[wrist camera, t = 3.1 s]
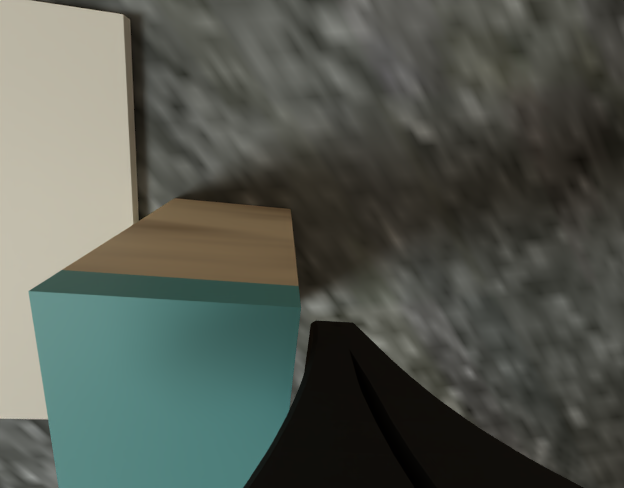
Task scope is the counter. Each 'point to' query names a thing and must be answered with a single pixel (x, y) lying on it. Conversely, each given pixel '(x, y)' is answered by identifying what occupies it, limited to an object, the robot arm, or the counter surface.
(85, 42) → the board
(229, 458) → the wooden block
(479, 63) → the counter surface
